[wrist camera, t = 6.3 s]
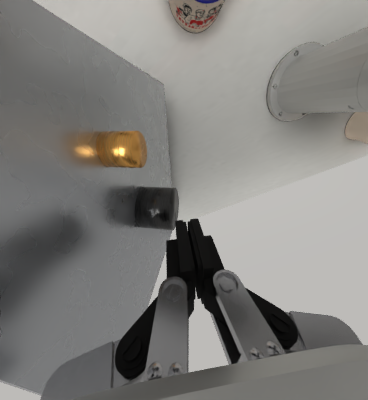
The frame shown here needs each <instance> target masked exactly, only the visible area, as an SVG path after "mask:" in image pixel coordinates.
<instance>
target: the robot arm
mask: <svg viewBox="0 0 368 400" xmlns="http://www.w3.org/2000/svg"><path fill="white" fill-rule="evenodd" d="M267 103H268V107H269V110H270V112H271V113H272V115H273V116H274V117H275V118H277V119H278V120H281V121H294V120H298V119H300V118H302V117H304V116H305V115H307V114H308V113H338V112H368V27H366V28H363V29H361V30H359V31H357V32H354V33H352V34H350V35H348V36H345V37H343V38H341V39H339V40H336V41H334V42H332V43H329V44H327V45H325V46H324V45H322V44H320V43H316V42H310V43H305V44H303V45H300V46H298V47H296V48H295V49H293V50H292V51H290V52H289V53H288V54H287V55H286V56H285V57H284V58H283V59H282V60H281V61H280V63H279V64H278V66H277V67H276V69H275V71H274V72H273V74H272V77H271V80H270V82H269V86H268V92H267ZM175 224H176V236H177V239H175V240H166V252H167V254H166V257H167V279H166V280H165V281H163V282H162V284H161V286H160V288H159V293H158V297H157V298H156V299H155V300H154V301H153V302H152V304H151V305H150V306H149V307H148V308H147V309H146V310H145V311H144V313H143V314H142V315H141V316H140V317H139V318H138V320H137V321H136V322H135V323H134V324H133V325H132V327H131V328H130V329H129V330H128V331H127V332H126V333H125V335H124V336H123V337H122V339H119V340H117V341H115V342H113V341H111V342H109V343H107V344H104V345H102V346H100V347H98V348H95V349H93V350H91V351H89V352H87V353H84V354H82V355H80V356H78V357H76V358H73V359H71V360H69V361H67V362H65V363H64V364H62V365H61V366H59V367H58V368H57V369H56V370H55V372H54V373H53V374H52V375H51V377H50V378H49V380H48V381H47V383H46V385H45V388H44V390H43V393H42V396H41V400H368V345H363V344H362V343H361V341H360V340H359V339H358V337H357V336H356V334H355V333H354V332H353V330H352V329H351V328H350V327H349V326H348V325H347V324H345V323H344V322H343V321H341V320H340V319H338V318H336V317H333V316H328V315H320V314H311V313H303V312H294V311H290V312H289V313H288V312H284V311H282V310H281V309H280V308H278V307H276V306H275V305H273V304H271V303H270V302H268V301H266V300H265V299H263V298H261V297H260V296H258V295H257V294H255V293H253V292H252V291H250V290H248V289H246V288H245V287H244V285H243V284H242V282H241V281H240V279H239V278H238V276H237V275H236V274H234V273H233V272H231V271H229V270H225V269H224V267H223V264H222V262H221V259H220V257H219V254H218V252H217V249H216V247H215V244H214V242H213V239H212V237H211V236H204V235H203V232H202V229H201V226H200V223H199V220H198V219H191V220H190V221H189V222H188V231H187V226H186V222H183V220H179V221H175ZM195 287H196V292H197V297H198V299H200V298H201V301H202V304H204V306H205V309H207V310H208V311H209V312H210V314H211V317H212V320H213V323H214V325H215V328H216V331H217V333H218V336H219V339H220V341H221V344H222V347H223V350H224V352H225V355H226V358H227V361H228V363H229V365H226V366H220V367H216V368H210V369H205V370H200V371H195V372H190V373H188V336H189V335H188V330H189V329H188V328H189V325H188V324H189V320H188V319H189V317H190V315H191V314H192V312H193V310H194V299H195Z"/></svg>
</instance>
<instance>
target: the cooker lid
mask: <svg viewBox="0 0 368 400" xmlns="http://www.w3.org/2000/svg"><path fill="white" fill-rule="evenodd" d="M178 207H179V199H178V191H177V189H176V188H172V182H171V169H170V157H169V144H168V132H167V119H166V107H165V94H164V84H162V83H161V82H159V81H158V80H156V79H154V78H153V77H151V76H150V75H148V74H147V73H145V72H144V71H142V70H140V69H139V68H137V67H136V66H134V65H133V64H131V63H129V62H128V61H126V60H125V59H123V58H122V57H120V56H119V55H117V54H115V53H114V52H112V51H111V50H109V49H108V48H106V47H104V46H103V45H101V44H100V43H98V42H97V41H95V40H94V39H92V38H90V37H89V36H87V35H86V34H84V33H83V32H81V31H79V30H78V29H76V28H75V27H73V26H72V25H70V24H69V23H67V22H65V21H64V20H62V19H61V18H59V17H58V16H56V15H54V14H53V13H51V12H50V11H48V10H47V9H45V8H44V7H42V6H40V5H39V4H37V3H36V2H34V1H33V0H0V382H3V383H6V384H8V385H11V386H14V387H18V388H20V389H23V390H26V391H29V392H32V393H35V394H38V395H41V396H42V393H43V390H44V388H45V385H46V383H47V381H48V380H49V378H50V377H51V375H52V374H53V373H54V372H55V370H56V369H57V368H58V367H59V366H61V365H62V364H64V363H65V362H67V361H69V360H71V359H73V358H76V357H78V356H80V355H82V354H84V353H87V352H89V351H91V350H93V349H95V348H98V347H100V346H102V345H104V344H107V343H109V342H111V341H113V342H115V341H117V340H119V339H122V337H123V336H124V335H125V333H126V332H127V331H128V330H129V329H130V328H131V327H132V325H133V324H134V323H135V322H136V321H137V320H138V318H139V317H140V316H141V315H142V314H143V313H144V311H145V310H146V309H147V308H148V304H149V301H150V298H151V295H152V292H153V289H154V286H155V283H156V280H157V277H158V273H159V270H160V267H161V264H162V261H163V258H164V255H165V252H166V240H169V239H170V236H171V233H172V230H174V228H175V226H176V224H175V221H177V218H178Z"/></svg>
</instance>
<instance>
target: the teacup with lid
mask: <svg viewBox="0 0 368 400" xmlns="http://www.w3.org/2000/svg"><path fill="white" fill-rule="evenodd" d="M224 1H225V0H169V5H170V8H171V11H172V13H173V16H174V18H175V19H176V21H177V22H178V23H179V25H180V26H181V27H182V28H184V29H185V30H187V31H189V32H194V33H197V32H201V31H204V30H205V29H207V28H208V27H209V26H210V25H211V24H212V23H213V22H214V20H215V18H216V17H217V15H218V13H219V11H220V9H221V7H222V5H223V3H224Z"/></svg>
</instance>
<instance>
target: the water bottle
mask: <svg viewBox="0 0 368 400" xmlns="http://www.w3.org/2000/svg"><path fill="white" fill-rule="evenodd" d="M345 135H346V137H347V138H348V139H352V140H358V141H361V142H364V143H366V144H368V112H355V113H354V114H353V115H352V116H351V118H350V119H349V121H348V123H347V125H346V128H345Z"/></svg>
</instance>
